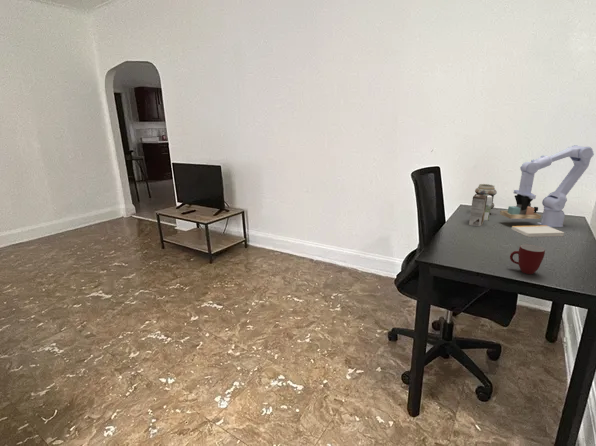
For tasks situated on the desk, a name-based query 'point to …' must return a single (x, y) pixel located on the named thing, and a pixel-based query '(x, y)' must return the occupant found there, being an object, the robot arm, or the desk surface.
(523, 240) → the desk surface
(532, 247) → the mug
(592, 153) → the robot arm
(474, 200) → the coffee box
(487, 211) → the syrup box
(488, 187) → the stone pedestal urn
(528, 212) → the block
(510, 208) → the light teal cube
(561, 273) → the desk surface
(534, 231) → the dock
